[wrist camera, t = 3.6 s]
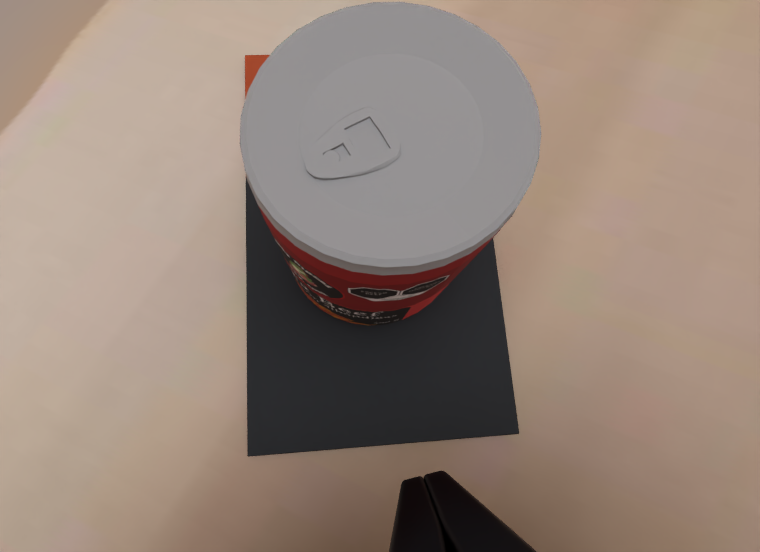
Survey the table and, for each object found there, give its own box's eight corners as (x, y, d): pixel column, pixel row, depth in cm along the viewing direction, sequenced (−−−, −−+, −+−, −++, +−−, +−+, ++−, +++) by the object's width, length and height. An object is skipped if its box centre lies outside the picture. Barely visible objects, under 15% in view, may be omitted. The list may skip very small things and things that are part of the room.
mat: (517, 433, 21) (519, 433, 21) (248, 455, 20) (247, 456, 20) (482, 170, 24) (483, 168, 24) (246, 179, 23) (245, 177, 23)
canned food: (257, 252, 22) (170, 126, 12) (372, 144, 24) (390, -53, 13) (374, 364, 21) (398, 340, 11) (485, 244, 23) (602, 119, 12)
